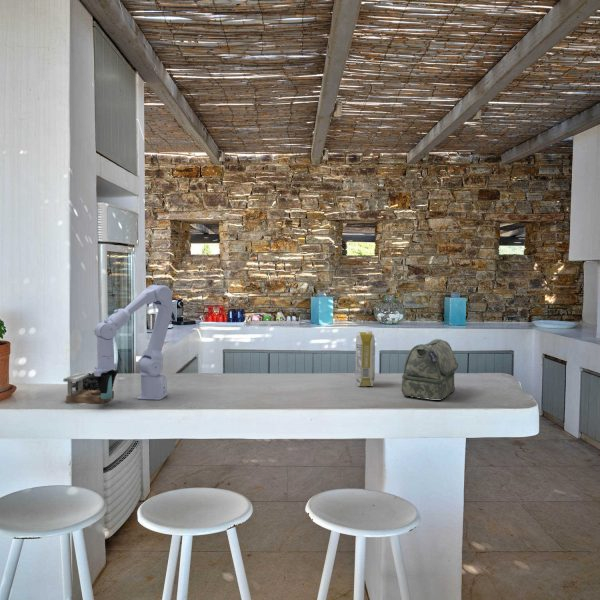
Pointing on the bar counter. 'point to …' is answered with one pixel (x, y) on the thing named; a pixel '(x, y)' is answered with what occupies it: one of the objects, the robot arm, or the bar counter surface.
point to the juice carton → (365, 358)
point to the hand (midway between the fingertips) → (106, 391)
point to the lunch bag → (429, 370)
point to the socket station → (83, 391)
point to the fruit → (88, 383)
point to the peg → (108, 390)
